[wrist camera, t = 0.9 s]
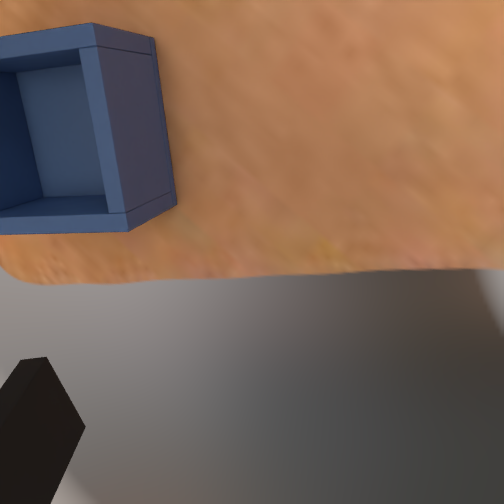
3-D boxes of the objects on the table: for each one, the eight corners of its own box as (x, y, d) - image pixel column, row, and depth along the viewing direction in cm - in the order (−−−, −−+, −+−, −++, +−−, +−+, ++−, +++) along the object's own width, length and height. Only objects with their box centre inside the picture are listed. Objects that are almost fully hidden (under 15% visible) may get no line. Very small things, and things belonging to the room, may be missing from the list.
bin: (6, 58, 36) (-86, 49, 29) (154, 37, 33) (92, 22, 26) (41, 209, 40) (-33, 235, 32) (177, 204, 36) (128, 232, 29)
